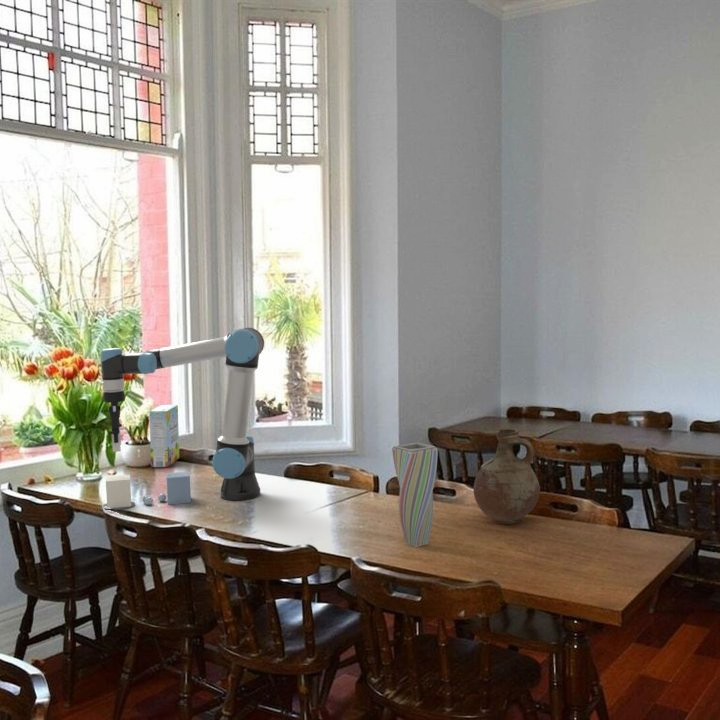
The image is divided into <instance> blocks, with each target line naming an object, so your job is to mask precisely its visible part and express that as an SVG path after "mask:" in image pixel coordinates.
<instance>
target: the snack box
mask: <svg viewBox="0 0 720 720" xmlns="http://www.w3.org/2000/svg"><path fill="white" fill-rule="evenodd" d="M179 435H180V434H179V406H178V404H161V405H159V406H157V407H155V408H153V409H151V410H149V436H150V467H151V468H168V467H170V466H171V465H172V464H174V463H175V462H176V461H177V460H179V459H180V443H179V442H180V438H179Z"/></svg>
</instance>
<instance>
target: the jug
mask: <svg viewBox="0 0 720 720" xmlns="http://www.w3.org/2000/svg"><path fill="white" fill-rule="evenodd" d="M495 436H496V438H497V439H496V440H497V441H498V443H497V446H496V451H495V455H494V456H492V457H491V458H490V459H488V460H487V461H485V462H484V463H482V465H480V468H479V470H478V472H477V474H476V476H475V479H474V483H473V497H474V500H475V502H476V504H477V506H478V509H480V510H481V511H482V513H484V514H485V515H486V516H487V517H489V518H491V521H492V522H493V523H494V524H500V525H511V524H512V525H513V524H517V523H520V522H521V521H522V518H524V517H526V516H527V515H529V514H530V513H531V512H532V511H533V509H534V508H536V506H537V504H538V501H539V500H540V498H539V497H540V494H541V487H540V483H539V480H538V478H537V475H536V473H535V472H534V469H533V468H532V465H531V464H532V462H533V460H534V455H535V448H534V445H533V444H532V443H531V441H529V440H528V439H526V438H520V435H519V430H518V429H515V428H501V429H499V431H498V432H497V433H496V435H495ZM515 445H519V446H520V445H521V446H523V447H524V448H526V454H525V456H524V457H523V458H520V457H518V456H517V455H515V453H514V449H513V446H515Z"/></svg>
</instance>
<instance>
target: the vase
mask: <svg viewBox="0 0 720 720" xmlns="http://www.w3.org/2000/svg"><path fill="white" fill-rule="evenodd" d="M438 450H439V449H438V447H437V446H435V445H430V444H427V443H426V444H425V443H422V442H412V443H411V442H410V443H405V444H400V445H394V446H392V447H391V452H392V453H391V454H392V459H393V464H394V469H395V474H396V479H397V481H398V485H399V497H398V516H399V523H400V526H401V527H400V528H401V530H402V533H403V534H402V535H403V537H404V541H405V542H404V543H405V544H406V545H409V546H412V547H414V548H417V547H422V546H425V545H429V541H430V540H429V539H430V536H431V530H432V525H433V518H434V496H433V495H434V494H433V489H434V486H435V481H436V477H437V476H436V474H437V466H438V452H439V451H438Z"/></svg>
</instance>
